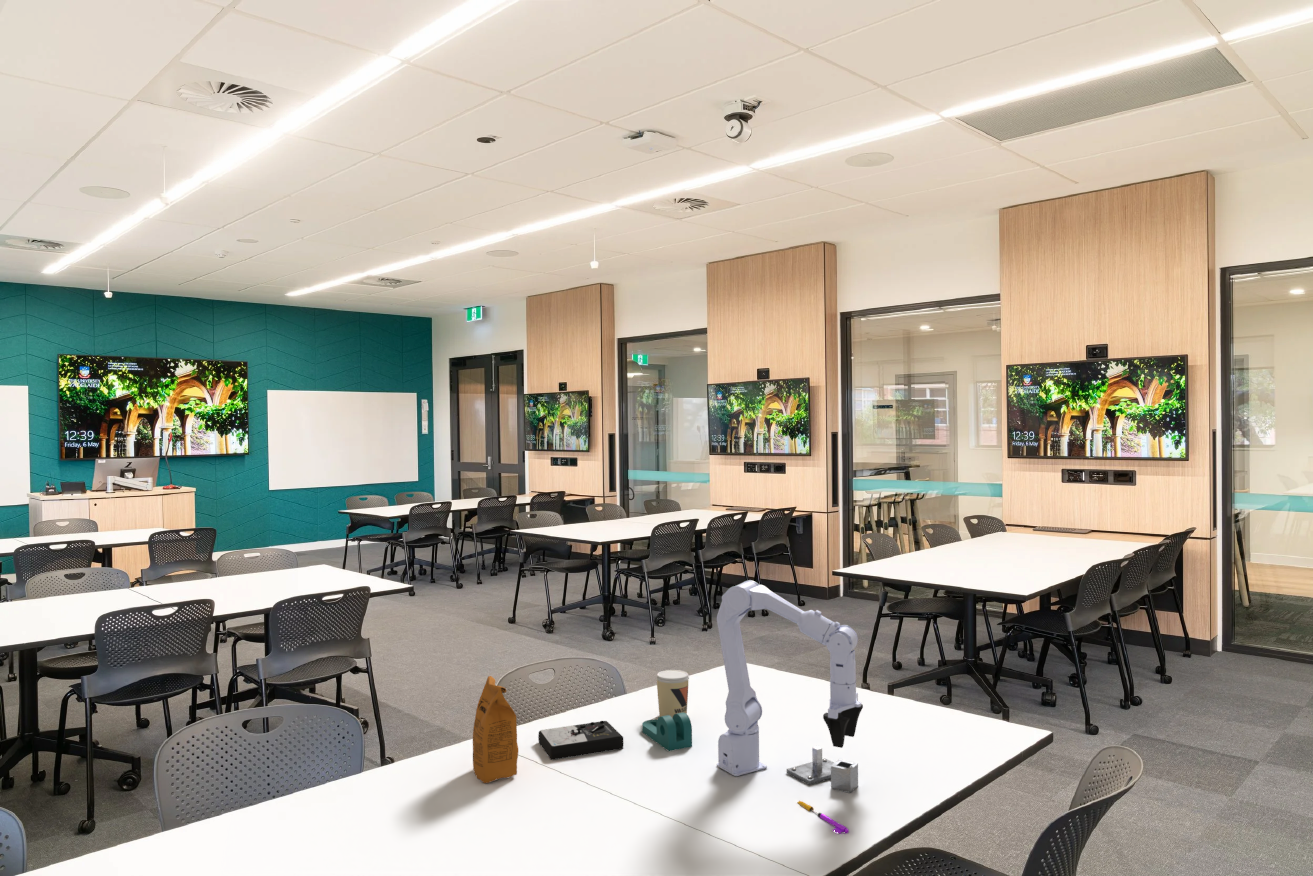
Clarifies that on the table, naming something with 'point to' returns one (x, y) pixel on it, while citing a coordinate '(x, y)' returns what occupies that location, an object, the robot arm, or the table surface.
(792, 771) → the plate
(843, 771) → the tube
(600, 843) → the table surface
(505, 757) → the coffee package
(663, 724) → the bracket
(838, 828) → the purple and orange rod
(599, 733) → the black printed box
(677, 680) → the coffee cup
